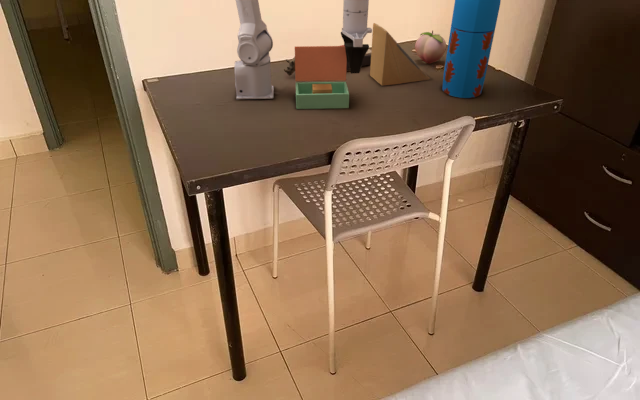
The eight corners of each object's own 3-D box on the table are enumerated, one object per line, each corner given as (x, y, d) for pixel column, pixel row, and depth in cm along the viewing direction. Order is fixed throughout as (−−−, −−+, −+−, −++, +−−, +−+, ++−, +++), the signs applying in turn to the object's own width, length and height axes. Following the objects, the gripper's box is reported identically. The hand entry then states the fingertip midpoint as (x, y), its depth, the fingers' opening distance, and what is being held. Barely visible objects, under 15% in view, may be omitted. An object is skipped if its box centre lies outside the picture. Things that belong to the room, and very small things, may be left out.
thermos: (433, 86, 139) (447, -10, 125) (463, 80, 144) (480, -14, 129) (459, 101, 132) (477, 0, 117) (490, 93, 136) (511, -4, 121)
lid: (346, 46, 128) (345, 43, 131) (294, 46, 127) (294, 44, 130) (346, 80, 132) (344, 77, 135) (295, 81, 131) (295, 77, 134)
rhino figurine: (279, 77, 144) (278, 56, 141) (314, 66, 152) (314, 46, 148) (288, 81, 142) (287, 60, 138) (324, 69, 149) (324, 49, 146)
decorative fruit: (449, 64, 154) (454, 31, 148) (433, 70, 149) (438, 36, 144) (424, 56, 160) (428, 24, 154) (408, 62, 155) (412, 29, 149)
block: (312, 104, 128) (312, 89, 125) (312, 98, 131) (312, 84, 128) (331, 104, 128) (332, 89, 126) (330, 98, 131) (331, 83, 129)
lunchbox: (348, 108, 128) (349, 94, 125) (296, 109, 127) (296, 94, 125) (345, 95, 134) (346, 81, 132) (295, 95, 134) (295, 82, 131)
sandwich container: (431, 79, 144) (438, 26, 135) (382, 86, 139) (386, 31, 131) (416, 69, 150) (423, 17, 142) (369, 75, 146) (373, 22, 138)
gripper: (377, 18, 110) (373, 77, 118) (368, 1, 122) (365, 56, 130) (345, 18, 110) (343, 78, 118) (339, 1, 122) (338, 57, 129)
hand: (353, 67), depth 124 cm, fingers open, 7 cm apart
